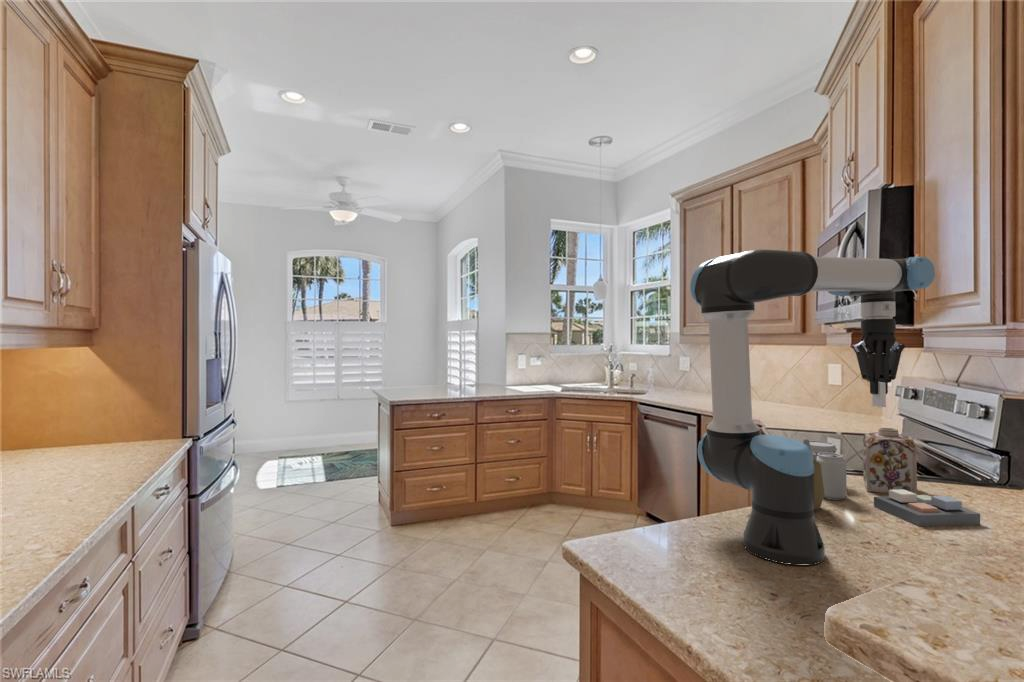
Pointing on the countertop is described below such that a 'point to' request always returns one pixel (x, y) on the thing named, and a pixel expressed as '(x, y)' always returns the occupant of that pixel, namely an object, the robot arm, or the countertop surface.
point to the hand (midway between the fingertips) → (879, 406)
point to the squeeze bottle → (816, 480)
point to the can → (833, 475)
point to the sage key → (924, 499)
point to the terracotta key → (922, 507)
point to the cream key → (903, 496)
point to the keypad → (927, 514)
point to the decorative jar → (889, 461)
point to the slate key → (946, 503)
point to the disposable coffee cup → (822, 447)
